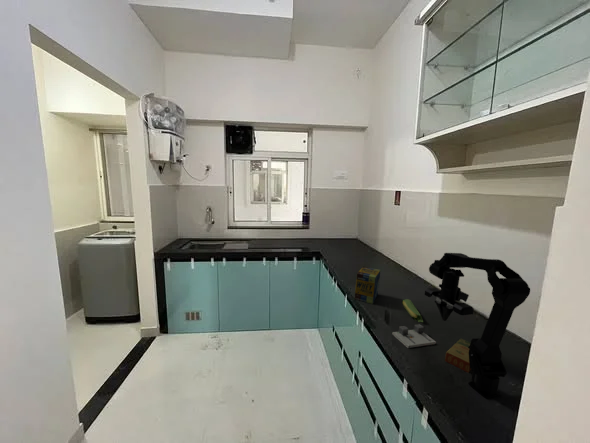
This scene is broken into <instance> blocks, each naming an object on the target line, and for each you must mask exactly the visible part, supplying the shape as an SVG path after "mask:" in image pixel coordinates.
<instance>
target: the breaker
mask: <svg viewBox="0 0 590 443" xmlns="http://www.w3.org/2000/svg"><path fill="white" fill-rule="evenodd" d="M424 328H425V327H424V325H421V324H419V323H418V324H414V327H413V329H412V330H415V331H416V332H417V333H425V332H424Z"/></svg>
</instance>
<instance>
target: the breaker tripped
mask: <svg viewBox="0 0 590 443" xmlns="http://www.w3.org/2000/svg"><path fill="white" fill-rule="evenodd" d="M408 330H410V329H409V328H408V327H407V326H406V325H403V326H402V325H401V326H398V331H397V332H400V333H401V334H402V335H408Z"/></svg>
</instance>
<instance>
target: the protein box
mask: <svg viewBox="0 0 590 443" xmlns="http://www.w3.org/2000/svg"><path fill="white" fill-rule="evenodd" d="M380 277H381V269H376V268H372V267H367V266H363V267H362V268H361V269H360V270H358V272H357V273H356V280H355V289H354V300H357V301H360V302H364V303H367V304H372V305H373V304H374V302H375V300H376V298H377V297H378V295H379V285H380Z"/></svg>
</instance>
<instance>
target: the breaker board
mask: <svg viewBox="0 0 590 443" xmlns="http://www.w3.org/2000/svg"><path fill="white" fill-rule="evenodd" d="M392 336H393V337H395V339H397V340H398V341H399V342H400V343H402V344H403V345H404V346H405V347H406V348H407V349H410V348H411V349H412V348H417V347H423V346H424V347H425V346H430V345H431V346H432V345H436V344H437V341H435V339H433V338H432V337H430V336H429V335H428V334H426V333H425V332H424V333H417V332H416V331H415V330H413V329H409V330H408V335H402V334H401V333H400V332H398V331H392Z"/></svg>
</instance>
